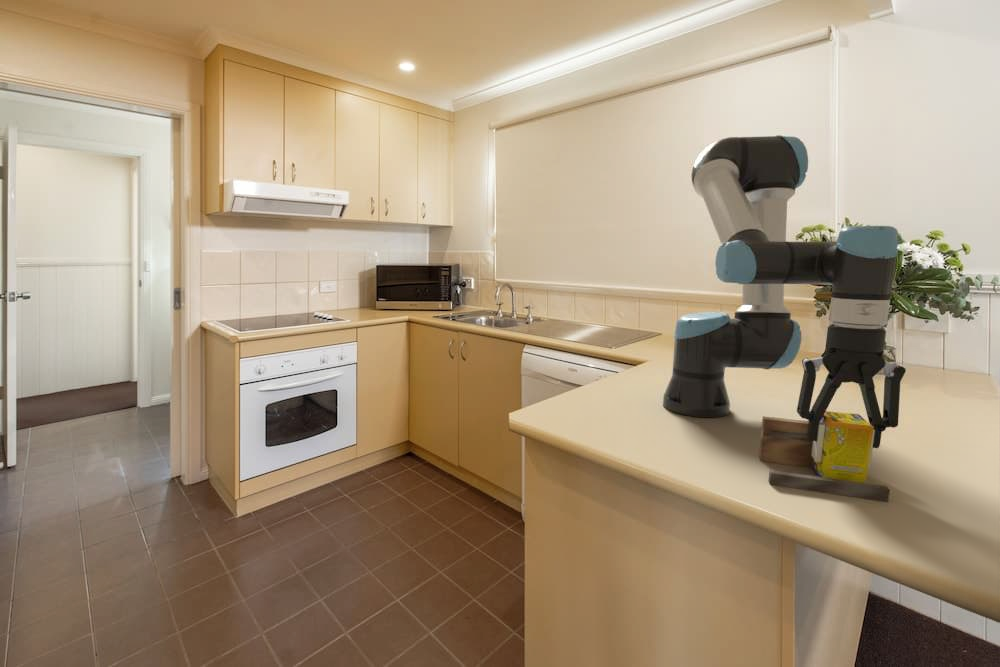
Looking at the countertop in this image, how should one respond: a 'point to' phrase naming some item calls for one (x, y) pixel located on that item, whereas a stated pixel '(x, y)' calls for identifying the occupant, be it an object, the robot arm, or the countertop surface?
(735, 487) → the countertop surface
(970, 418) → the countertop surface
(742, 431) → the countertop surface
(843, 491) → the wooden rack
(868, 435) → the supplement box
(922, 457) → the countertop surface
